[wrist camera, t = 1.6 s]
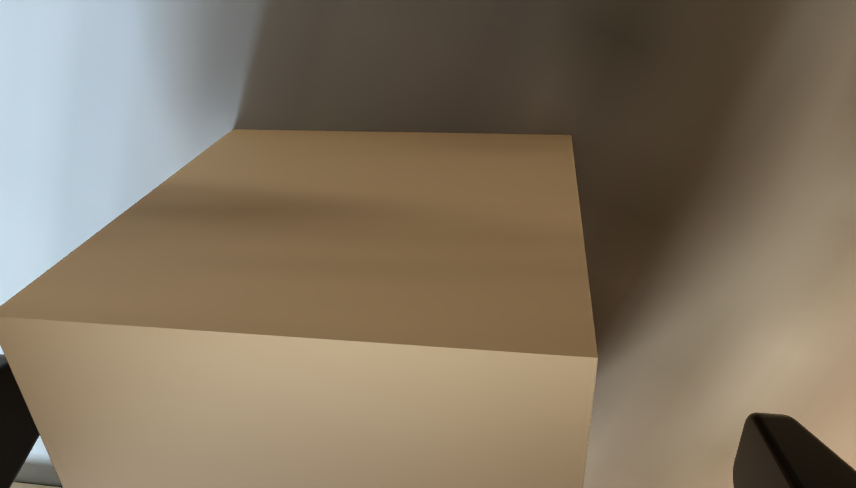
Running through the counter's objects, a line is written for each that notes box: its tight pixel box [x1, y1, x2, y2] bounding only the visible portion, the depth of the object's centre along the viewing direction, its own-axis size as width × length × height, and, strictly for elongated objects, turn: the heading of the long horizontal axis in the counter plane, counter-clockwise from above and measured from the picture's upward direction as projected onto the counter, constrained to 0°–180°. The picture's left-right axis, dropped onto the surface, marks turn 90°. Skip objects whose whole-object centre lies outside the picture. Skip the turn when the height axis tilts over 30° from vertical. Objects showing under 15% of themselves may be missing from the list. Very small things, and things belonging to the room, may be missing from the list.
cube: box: [0, 129, 598, 488], centre depth 8 cm, size 5×5×5 cm
